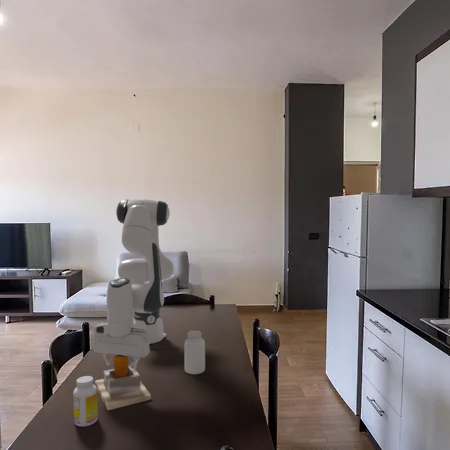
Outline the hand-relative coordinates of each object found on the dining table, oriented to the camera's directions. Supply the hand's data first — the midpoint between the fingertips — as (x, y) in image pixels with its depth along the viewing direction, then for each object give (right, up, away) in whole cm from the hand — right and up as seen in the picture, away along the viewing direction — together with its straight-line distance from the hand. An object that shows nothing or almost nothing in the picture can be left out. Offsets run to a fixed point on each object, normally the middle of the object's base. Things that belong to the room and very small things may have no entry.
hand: (121, 366), depth 134 cm
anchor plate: (0, -9, 0) cm, 9 cm away
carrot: (0, -8, +1) cm, 8 cm away
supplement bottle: (-6, -10, -18) cm, 21 cm away
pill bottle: (+24, -8, +17) cm, 31 cm away
